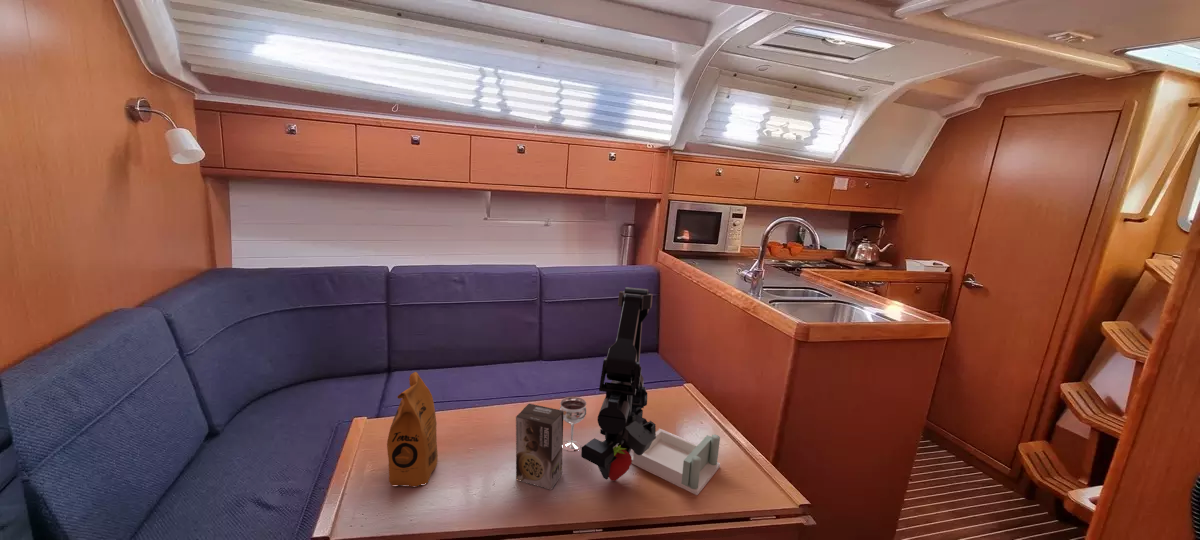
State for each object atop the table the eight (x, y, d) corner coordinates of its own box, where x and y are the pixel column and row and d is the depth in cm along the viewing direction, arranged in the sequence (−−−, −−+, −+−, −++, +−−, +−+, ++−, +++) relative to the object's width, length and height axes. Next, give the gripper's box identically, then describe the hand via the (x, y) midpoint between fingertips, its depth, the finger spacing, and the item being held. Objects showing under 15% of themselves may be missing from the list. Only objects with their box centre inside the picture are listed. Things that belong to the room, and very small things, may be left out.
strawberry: (631, 490, 100) (634, 450, 98) (597, 489, 100) (599, 448, 98) (629, 472, 106) (632, 434, 104) (597, 471, 106) (599, 433, 104)
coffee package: (381, 490, 96) (375, 396, 92) (401, 454, 109) (396, 370, 104) (428, 489, 97) (425, 396, 93) (443, 454, 109) (441, 370, 105)
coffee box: (562, 473, 105) (565, 410, 101) (551, 491, 99) (553, 424, 95) (527, 463, 108) (529, 402, 104) (514, 480, 102) (515, 415, 98)
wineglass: (553, 449, 114) (555, 406, 111) (565, 435, 120) (567, 394, 117) (578, 456, 111) (580, 412, 109) (589, 442, 117) (591, 400, 115)
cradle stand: (629, 462, 110) (631, 432, 108) (655, 438, 120) (657, 411, 119) (697, 495, 100) (700, 463, 98) (719, 466, 110) (723, 437, 108)
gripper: (625, 441, 87) (620, 510, 91) (670, 404, 102) (665, 465, 105) (581, 420, 94) (578, 486, 97) (629, 389, 108) (625, 447, 112)
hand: (614, 470), depth 103 cm, fingers closed on strawberry, 6 cm apart
